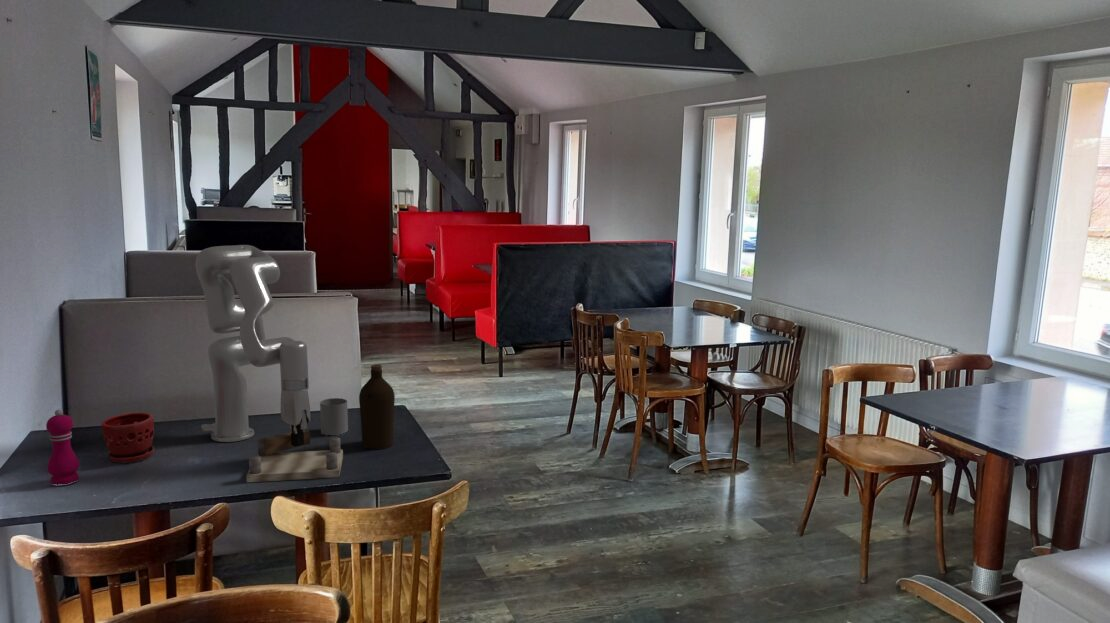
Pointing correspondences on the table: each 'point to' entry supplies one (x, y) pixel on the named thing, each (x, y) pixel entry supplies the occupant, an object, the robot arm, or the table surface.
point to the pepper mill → (62, 450)
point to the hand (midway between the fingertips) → (297, 445)
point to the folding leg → (279, 443)
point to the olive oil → (377, 411)
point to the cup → (334, 416)
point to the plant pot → (129, 437)
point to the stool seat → (297, 464)
